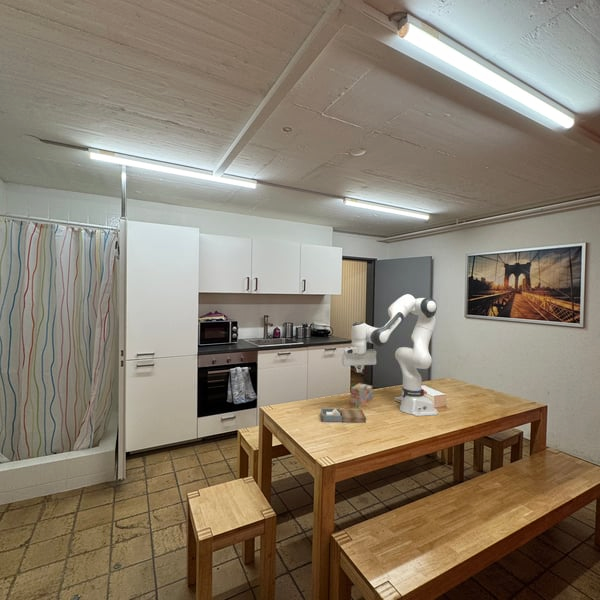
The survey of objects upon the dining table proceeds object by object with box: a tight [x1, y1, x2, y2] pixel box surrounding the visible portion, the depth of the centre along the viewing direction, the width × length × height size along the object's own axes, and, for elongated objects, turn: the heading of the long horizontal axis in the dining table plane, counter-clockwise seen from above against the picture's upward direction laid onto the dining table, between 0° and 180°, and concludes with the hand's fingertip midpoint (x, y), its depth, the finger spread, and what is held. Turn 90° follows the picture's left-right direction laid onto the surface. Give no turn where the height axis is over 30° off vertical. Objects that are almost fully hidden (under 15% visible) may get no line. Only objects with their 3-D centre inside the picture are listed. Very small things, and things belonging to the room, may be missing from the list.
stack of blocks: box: [350, 382, 373, 409], centre depth 209 cm, size 21×6×12 cm, turn 144°
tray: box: [320, 408, 343, 423], centre depth 182 cm, size 11×11×4 cm
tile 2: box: [332, 408, 341, 416], centre depth 182 cm, size 4×4×2 cm
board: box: [339, 408, 367, 424], centre depth 182 cm, size 13×12×3 cm
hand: (359, 372), depth 185 cm, fingers closed
